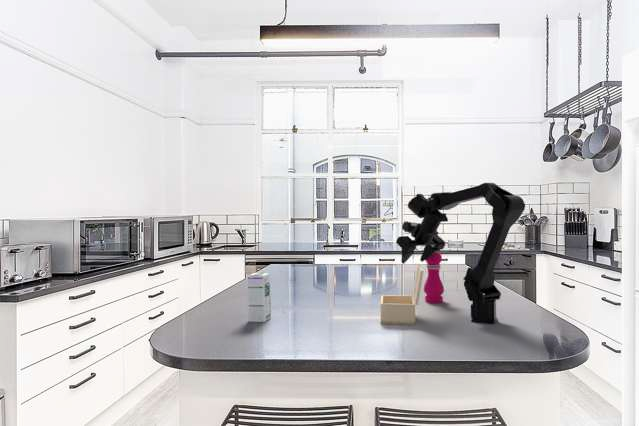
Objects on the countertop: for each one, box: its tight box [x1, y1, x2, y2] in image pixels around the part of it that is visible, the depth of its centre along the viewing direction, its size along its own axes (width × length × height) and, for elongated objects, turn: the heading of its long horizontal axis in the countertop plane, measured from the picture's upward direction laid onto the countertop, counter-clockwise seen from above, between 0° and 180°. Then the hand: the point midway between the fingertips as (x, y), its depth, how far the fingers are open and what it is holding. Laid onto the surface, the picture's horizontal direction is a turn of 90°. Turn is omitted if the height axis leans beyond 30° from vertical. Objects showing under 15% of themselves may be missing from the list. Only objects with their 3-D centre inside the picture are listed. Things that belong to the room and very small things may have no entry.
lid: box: [412, 264, 424, 306], centre depth 142 cm, size 10×14×1 cm
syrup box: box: [246, 272, 272, 323], centre depth 145 cm, size 6×6×14 cm
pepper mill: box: [423, 251, 445, 304], centre depth 169 cm, size 7×7×20 cm
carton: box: [380, 294, 416, 326], centre depth 143 cm, size 10×14×6 cm
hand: (412, 261), depth 164 cm, fingers open, 9 cm apart
